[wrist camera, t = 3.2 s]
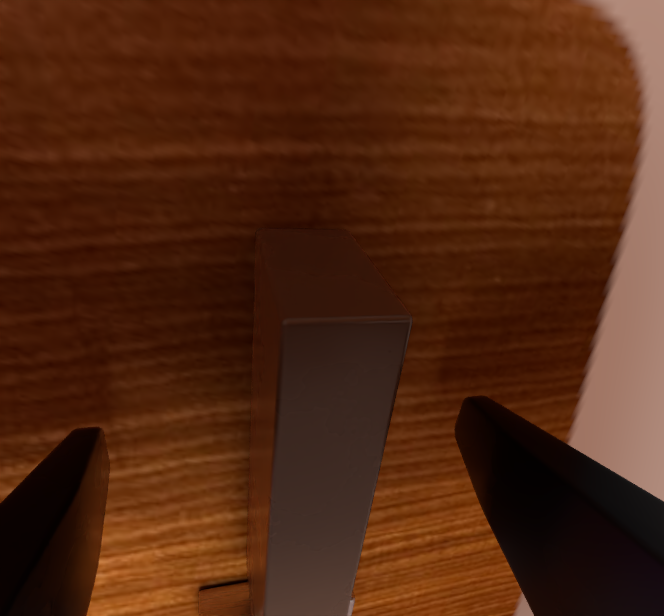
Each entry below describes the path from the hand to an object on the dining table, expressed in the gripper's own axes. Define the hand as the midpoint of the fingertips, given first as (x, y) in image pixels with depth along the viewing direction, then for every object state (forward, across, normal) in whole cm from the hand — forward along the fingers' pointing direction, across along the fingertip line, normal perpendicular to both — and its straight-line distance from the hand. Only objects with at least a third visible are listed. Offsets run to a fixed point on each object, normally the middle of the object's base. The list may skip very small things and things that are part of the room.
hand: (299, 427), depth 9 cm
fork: (+1, 0, +4) cm, 4 cm away
